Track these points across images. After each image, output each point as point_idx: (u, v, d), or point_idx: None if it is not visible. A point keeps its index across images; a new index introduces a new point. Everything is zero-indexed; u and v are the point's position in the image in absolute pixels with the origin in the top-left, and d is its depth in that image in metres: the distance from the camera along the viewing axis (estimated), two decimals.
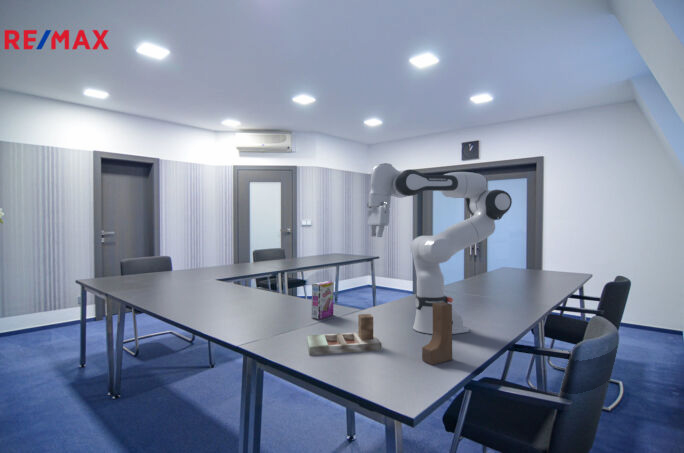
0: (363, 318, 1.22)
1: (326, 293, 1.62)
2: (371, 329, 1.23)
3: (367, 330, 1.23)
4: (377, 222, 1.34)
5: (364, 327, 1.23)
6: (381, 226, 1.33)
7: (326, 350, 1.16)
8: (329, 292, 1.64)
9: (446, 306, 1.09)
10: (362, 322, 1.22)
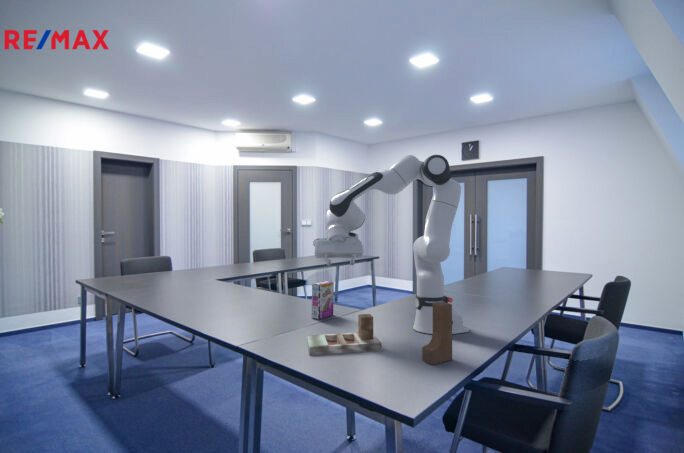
0: (363, 318, 1.22)
1: (326, 293, 1.62)
2: (371, 329, 1.23)
3: (367, 330, 1.23)
4: None
5: (364, 327, 1.23)
6: (323, 256, 1.38)
7: (326, 350, 1.16)
8: (329, 292, 1.64)
9: (446, 306, 1.09)
10: (362, 322, 1.22)
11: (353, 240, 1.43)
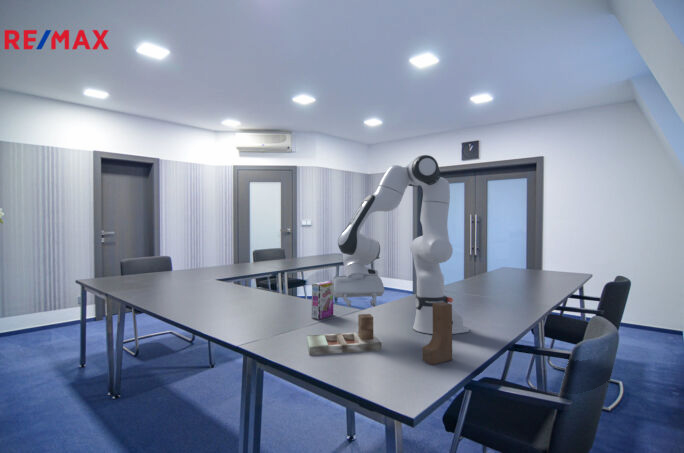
0: (363, 318, 1.22)
1: (326, 293, 1.62)
2: (371, 329, 1.23)
3: (367, 330, 1.23)
4: None
5: (364, 327, 1.23)
6: (343, 296, 1.33)
7: (326, 350, 1.16)
8: (329, 292, 1.64)
9: (446, 306, 1.09)
10: (362, 322, 1.22)
11: (373, 277, 1.38)
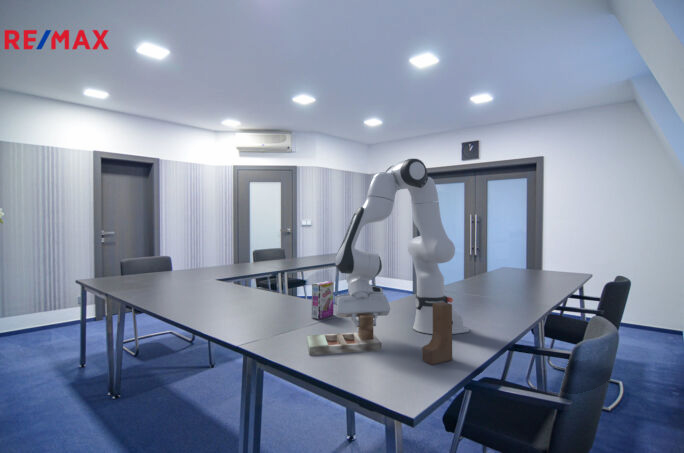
0: (363, 318, 1.22)
1: (326, 293, 1.62)
2: (371, 329, 1.23)
3: (367, 330, 1.23)
4: None
5: (364, 327, 1.23)
6: (351, 316, 1.27)
7: (326, 350, 1.16)
8: (329, 292, 1.64)
9: (446, 306, 1.09)
10: (362, 322, 1.22)
11: (378, 295, 1.31)
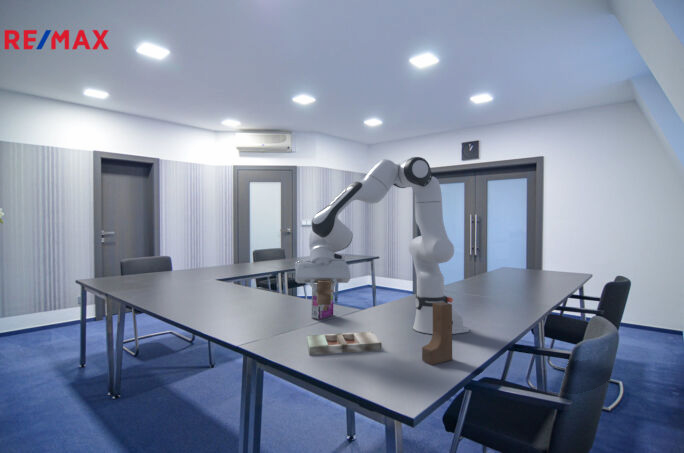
0: (320, 282, 1.20)
1: None
2: (329, 294, 1.20)
3: (324, 295, 1.20)
4: None
5: (321, 291, 1.20)
6: (310, 281, 1.24)
7: (326, 350, 1.16)
8: None
9: (446, 306, 1.09)
10: (319, 286, 1.20)
11: (339, 262, 1.29)
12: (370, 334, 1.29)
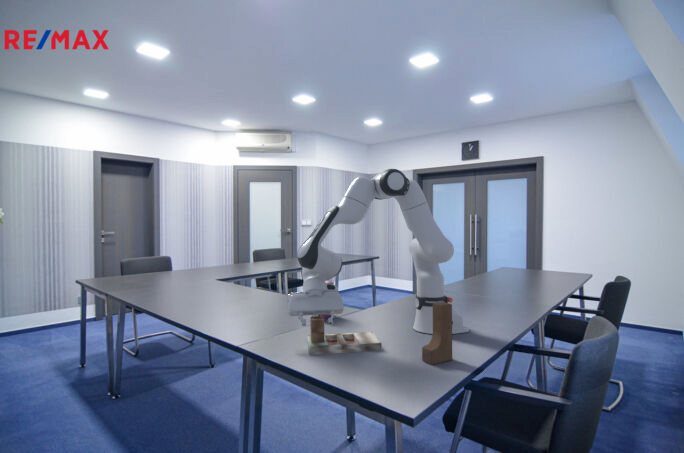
0: (314, 321, 1.20)
1: None
2: (322, 332, 1.20)
3: (317, 333, 1.20)
4: None
5: (315, 329, 1.20)
6: (298, 315, 1.23)
7: (326, 350, 1.16)
8: None
9: (446, 306, 1.09)
10: (312, 325, 1.19)
11: (332, 293, 1.28)
12: (370, 334, 1.29)
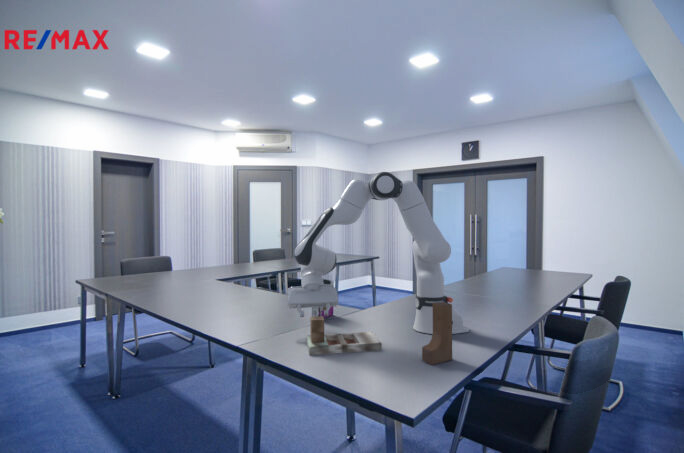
0: (314, 321, 1.20)
1: None
2: (322, 332, 1.20)
3: (317, 333, 1.20)
4: None
5: (315, 329, 1.20)
6: (297, 307, 1.35)
7: (326, 350, 1.16)
8: None
9: (446, 306, 1.09)
10: (312, 325, 1.19)
11: (328, 288, 1.40)
12: (370, 334, 1.29)
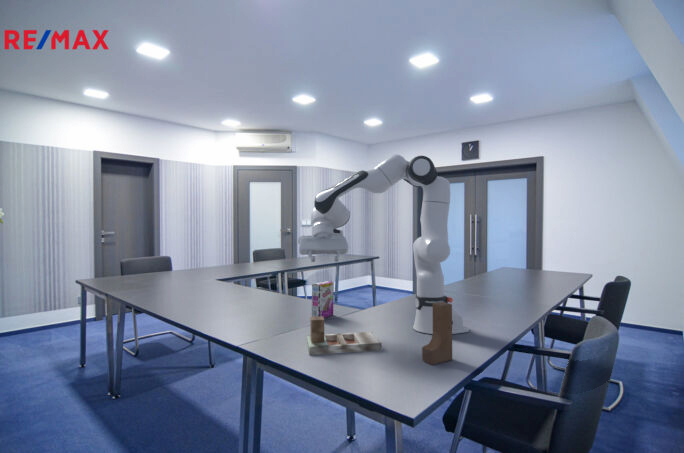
0: (314, 321, 1.20)
1: (326, 293, 1.62)
2: (322, 332, 1.20)
3: (317, 333, 1.20)
4: None
5: (315, 329, 1.20)
6: (308, 253, 1.39)
7: (326, 350, 1.16)
8: (329, 292, 1.64)
9: (446, 306, 1.09)
10: (312, 325, 1.19)
11: (337, 236, 1.44)
12: (370, 334, 1.29)
